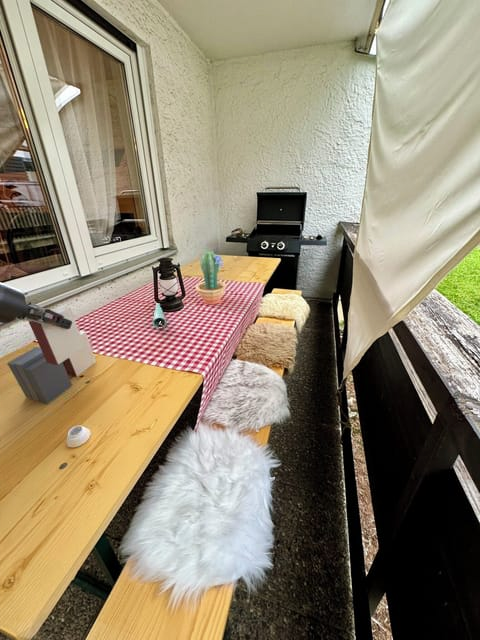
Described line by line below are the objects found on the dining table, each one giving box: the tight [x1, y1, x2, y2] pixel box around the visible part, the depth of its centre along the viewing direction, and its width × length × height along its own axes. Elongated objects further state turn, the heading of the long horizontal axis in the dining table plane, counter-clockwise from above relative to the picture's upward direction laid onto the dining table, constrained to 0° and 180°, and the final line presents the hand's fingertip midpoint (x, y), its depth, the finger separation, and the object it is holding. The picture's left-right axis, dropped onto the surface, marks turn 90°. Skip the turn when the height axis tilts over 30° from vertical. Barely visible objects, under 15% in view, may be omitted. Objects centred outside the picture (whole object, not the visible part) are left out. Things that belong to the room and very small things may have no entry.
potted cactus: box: [195, 250, 227, 305], centre depth 126 cm, size 15×15×25 cm
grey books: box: [7, 346, 73, 405], centre depth 73 cm, size 8×8×13 cm
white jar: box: [65, 424, 92, 448], centre depth 61 cm, size 5×3×5 cm
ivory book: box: [27, 305, 84, 365], centre depth 64 cm, size 3×8×12 cm, turn 162°
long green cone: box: [152, 302, 167, 330], centre depth 118 cm, size 5×6×27 cm
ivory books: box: [63, 330, 97, 378], centre depth 83 cm, size 6×8×12 cm, turn 162°
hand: (63, 324), depth 65 cm, fingers closed on ivory book, 3 cm apart
